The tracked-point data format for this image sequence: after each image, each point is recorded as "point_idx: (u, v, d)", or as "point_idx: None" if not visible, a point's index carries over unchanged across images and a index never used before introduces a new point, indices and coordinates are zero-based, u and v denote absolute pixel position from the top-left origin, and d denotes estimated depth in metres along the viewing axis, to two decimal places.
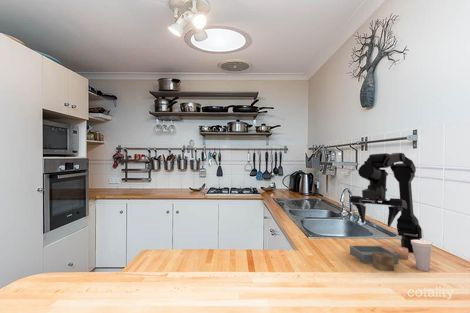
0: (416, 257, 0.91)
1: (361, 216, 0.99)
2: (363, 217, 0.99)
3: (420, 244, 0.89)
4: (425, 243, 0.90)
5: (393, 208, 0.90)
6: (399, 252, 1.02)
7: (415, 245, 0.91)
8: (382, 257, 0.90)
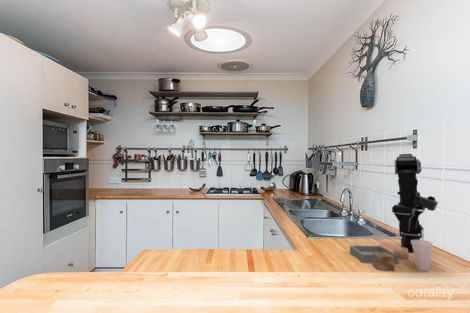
0: (416, 257, 0.91)
1: (409, 226, 0.91)
2: None
3: (420, 244, 0.89)
4: (425, 243, 0.90)
5: (422, 212, 0.97)
6: (399, 252, 1.02)
7: (415, 245, 0.91)
8: (382, 257, 0.90)
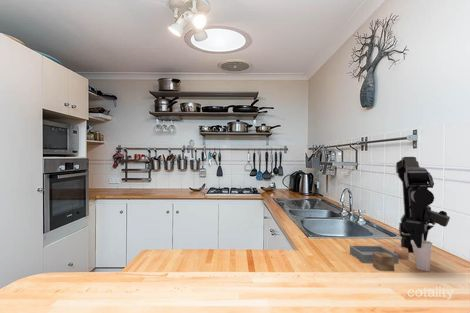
0: (416, 257, 0.91)
1: (421, 241, 0.89)
2: None
3: None
4: (425, 243, 0.90)
5: None
6: (399, 252, 1.02)
7: (415, 245, 0.91)
8: (382, 257, 0.90)
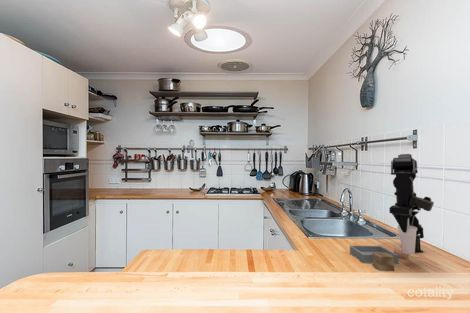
0: (402, 241, 0.95)
1: None
2: None
3: None
4: (410, 228, 0.93)
5: None
6: (399, 252, 1.02)
7: (401, 230, 0.94)
8: (382, 257, 0.90)
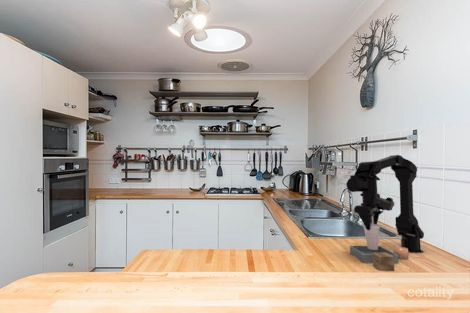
0: (366, 238, 1.04)
1: (370, 224, 1.02)
2: None
3: None
4: (374, 226, 1.02)
5: (382, 212, 1.07)
6: (399, 252, 1.02)
7: (365, 228, 1.04)
8: (382, 257, 0.90)
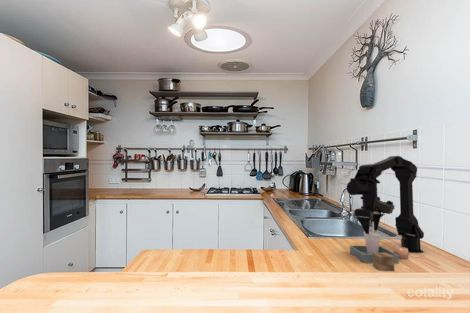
0: (367, 245, 1.04)
1: None
2: None
3: (370, 234, 1.02)
4: (374, 233, 1.02)
5: None
6: (399, 252, 1.02)
7: (366, 235, 1.03)
8: (382, 257, 0.90)
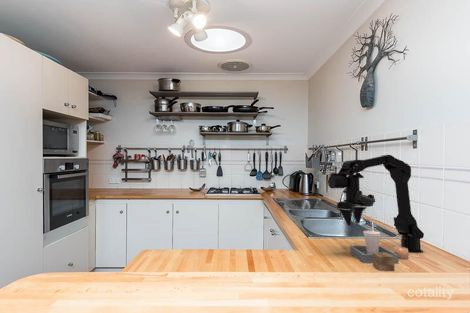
0: (367, 245, 1.04)
1: (350, 220, 1.06)
2: None
3: (369, 234, 1.02)
4: (374, 233, 1.02)
5: (365, 208, 1.13)
6: (399, 252, 1.02)
7: (366, 235, 1.04)
8: (382, 257, 0.90)
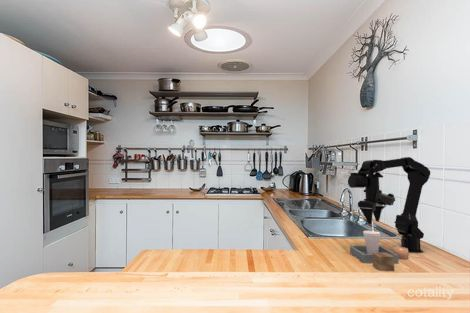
0: (367, 245, 1.04)
1: (371, 218, 1.09)
2: None
3: (369, 234, 1.02)
4: (374, 233, 1.02)
5: (384, 207, 1.15)
6: (399, 252, 1.02)
7: (366, 235, 1.04)
8: (382, 257, 0.90)
